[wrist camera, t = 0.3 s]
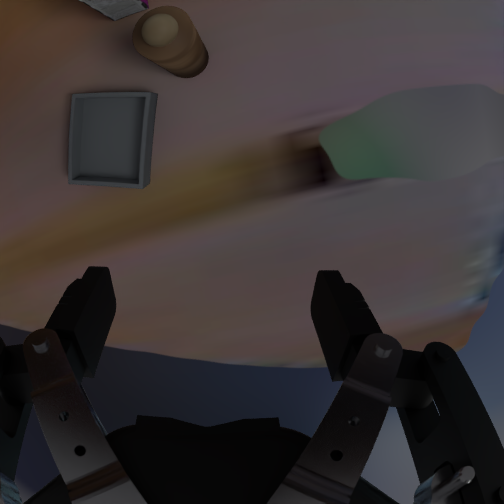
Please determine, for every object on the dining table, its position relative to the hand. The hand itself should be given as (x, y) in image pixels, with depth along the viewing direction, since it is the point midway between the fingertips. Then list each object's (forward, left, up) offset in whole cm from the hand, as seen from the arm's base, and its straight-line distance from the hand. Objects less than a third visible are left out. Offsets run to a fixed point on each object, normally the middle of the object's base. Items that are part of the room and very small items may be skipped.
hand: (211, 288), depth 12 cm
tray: (-3, -15, -27) cm, 31 cm away
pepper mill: (-13, -7, -27) cm, 31 cm away
